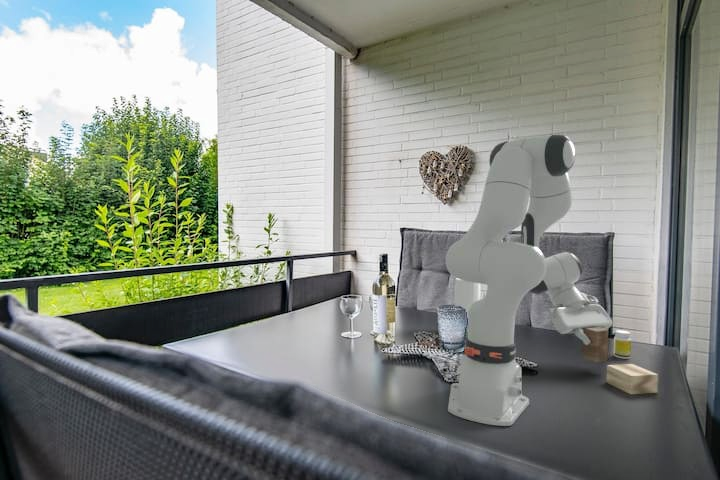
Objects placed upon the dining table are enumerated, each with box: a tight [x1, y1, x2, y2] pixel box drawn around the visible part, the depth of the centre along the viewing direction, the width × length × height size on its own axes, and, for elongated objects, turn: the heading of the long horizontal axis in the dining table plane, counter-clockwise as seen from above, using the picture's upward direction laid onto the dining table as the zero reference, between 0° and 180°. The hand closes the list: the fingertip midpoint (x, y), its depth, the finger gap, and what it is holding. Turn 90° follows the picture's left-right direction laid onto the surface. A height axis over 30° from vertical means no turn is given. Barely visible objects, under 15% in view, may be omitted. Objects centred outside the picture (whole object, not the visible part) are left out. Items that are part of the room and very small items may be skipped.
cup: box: [454, 277, 482, 318], centre depth 159 cm, size 10×10×22 cm
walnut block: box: [581, 327, 609, 363], centre depth 118 cm, size 4×4×9 cm
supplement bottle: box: [612, 329, 632, 360], centre depth 132 cm, size 5×5×8 cm
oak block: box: [605, 363, 659, 395], centre depth 107 cm, size 8×8×5 cm
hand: (597, 343), depth 118 cm, fingers closed on walnut block, 4 cm apart
